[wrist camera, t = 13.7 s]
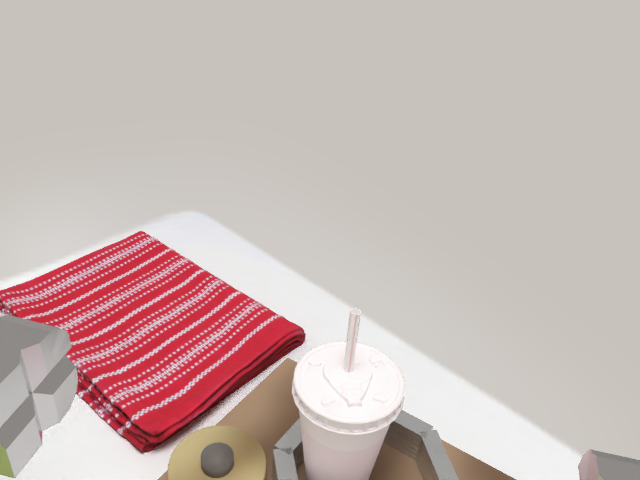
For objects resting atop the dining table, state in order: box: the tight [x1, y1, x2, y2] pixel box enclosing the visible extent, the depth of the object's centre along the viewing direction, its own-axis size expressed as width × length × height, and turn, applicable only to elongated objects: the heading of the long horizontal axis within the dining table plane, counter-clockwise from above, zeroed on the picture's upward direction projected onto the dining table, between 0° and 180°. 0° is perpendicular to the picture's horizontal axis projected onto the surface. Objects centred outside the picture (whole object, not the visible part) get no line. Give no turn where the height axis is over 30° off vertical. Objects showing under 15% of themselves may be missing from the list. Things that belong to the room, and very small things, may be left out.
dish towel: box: [0, 231, 305, 452], centre depth 52 cm, size 17×24×3 cm
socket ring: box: [272, 410, 459, 480], centre depth 38 cm, size 11×11×2 cm
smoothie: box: [292, 308, 405, 480], centre depth 35 cm, size 6×6×14 cm
